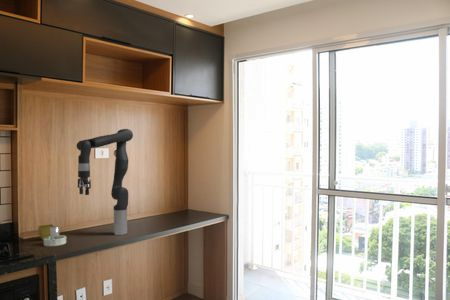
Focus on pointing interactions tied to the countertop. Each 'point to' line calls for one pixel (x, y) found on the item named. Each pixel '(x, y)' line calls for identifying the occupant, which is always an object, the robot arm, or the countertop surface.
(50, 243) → the bowl
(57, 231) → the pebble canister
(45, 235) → the flower pot
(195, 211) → the countertop surface
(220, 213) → the countertop surface
